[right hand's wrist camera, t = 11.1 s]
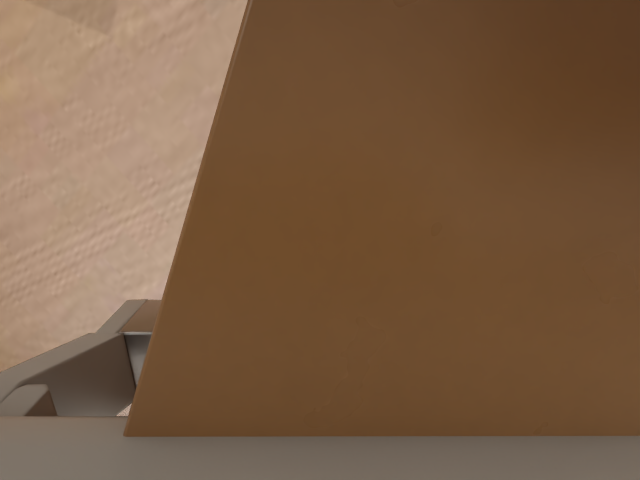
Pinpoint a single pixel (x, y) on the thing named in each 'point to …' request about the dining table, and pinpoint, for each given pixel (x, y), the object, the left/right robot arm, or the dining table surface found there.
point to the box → (411, 228)
